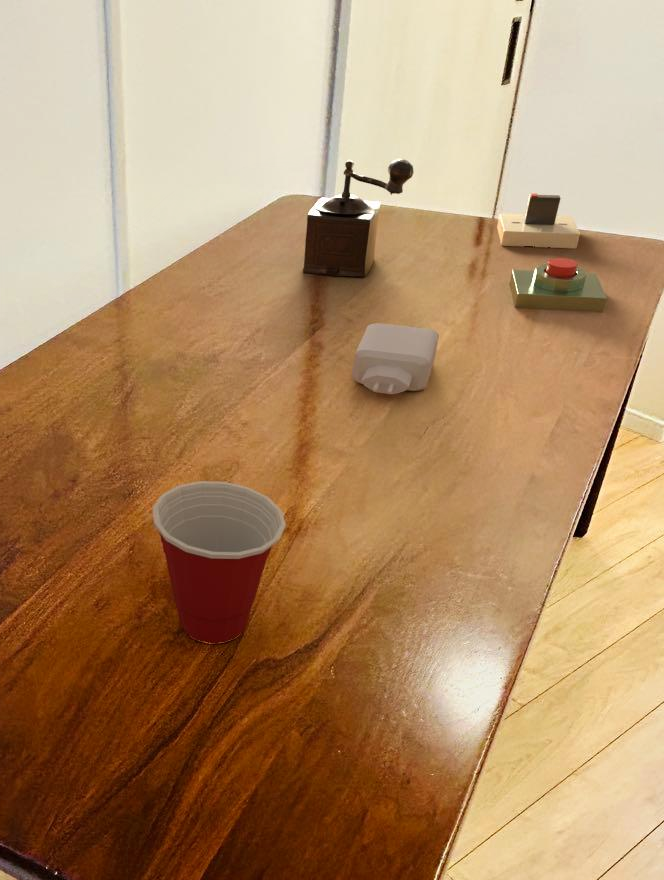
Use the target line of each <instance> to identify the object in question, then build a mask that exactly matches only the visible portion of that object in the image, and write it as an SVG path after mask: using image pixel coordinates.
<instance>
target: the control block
mask: <svg viewBox="0 0 664 880" xmlns="http://www.w3.org/2000/svg"><path fill="white" fill-rule="evenodd" d="M547 265H548V263H546V264H541V265H539V266H537V267H535V269H534V270H524V269H512V270H511V274H510V279H509V282H508V283H509V288H510V292H511V297H512V301H513V307H514V309H530V310H531V309H533V310H546V311H547V310H549V311H564V312H565V311H566V312H568V311H569V312H583V313H601V314H602V313H604V309H605V306H606V303H607V299H608V297H607V295H606V293H605V291H604V289H603V286H602V284H601V281H600V280H599V279H600V278H599V276H598V274H597V273H591V272H589V273H588V272H586V270H585V269H583V268H581V267H578V266H577V269H576V273H575V276H573V277H556V276H552V275H549V274H547V273H546V269H547Z"/></svg>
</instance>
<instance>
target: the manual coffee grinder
mask: <svg viewBox="0 0 664 880" xmlns="http://www.w3.org/2000/svg"><path fill="white" fill-rule="evenodd" d="M354 165H355V163H354V161H353V160H352V159H348V160H347V161H346V162H345V164H344V166H345V169H344V171H343V175H344V185H343V191H342V192H341V194H338V195H335V196H333V197H331V198H330V197H329V198H328V197H321V198H319V199H318V200H317V201H316V203H315V204H314V206H313V207H311V209H310V210H309V212H308V214H307V217H306V232H305V243H304V244H305V245H304V259H303V260H304V261H303V268H302V273H306V274H316V275H323V276H333V277H334V276H335V277H339V276H341V277H360V278H361V277H366V276H367V275H368V274H369V272H370V270H371V268H372V267H373V264H374V261H375V250H376V240H377V232H378V225H379V218H380V210H381V204H382V203H381V202H379V201H370V200H364V199H362V198H360V197H358V196H357V195H354V194H351V192H350V190H351V181H352V179H353V180H355V181H358V182H361V183H366V184H368V185H372V186H375V187H379V188H382V189H384V190H386V191H387V192H388V193H389V194H390V195H391V196H392V195H393V194H394V195H395V194H396V195H399V194H400V195H401V194H402V193H403V190H404V189H403V187H404V184H405V183H407V182H408V181H409V180H410V179H411V178H412V177H413V175H414V172H415V171H414V166H413V164H411V162H409V161H408V160H407V159H404V158H398V159H395V160H393V161H392V162H390V164H389V165H388V167H387V172H388V177H389V178H388V179H389V181H388V182H384V181H382V180H381V179H380V180H379V179H377V178H372V177H369V176H364V175H360V174H357V173H355V172H354V170H353V168H354Z"/></svg>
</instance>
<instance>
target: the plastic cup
mask: <svg viewBox="0 0 664 880" xmlns="http://www.w3.org/2000/svg"><path fill="white" fill-rule="evenodd" d="M152 515H153V516H152V517H153V525H154V527H155V529H156V530H157V531H158V534H159V536H160V541H161V543H162V551H163V553H164V557H165V561H166V566H167V570H168V576H169V582H170V585H171V591H172V596H173V601H174V602H175V604H176V610H177V615H178V621H179V624H180V625H181V628H182V627H183V628H184V630H185V631H186V633H187V634H188V635H190V636H192V637H193V638H195V639H197V640H200V641H205V642H208V643H209V642H210V643H219V642H225V641H228V640H231V639H234V638H235V637H237V636H238V635H239V634H240V633H242V632H244V630H245V629H246V627H247V625H248V622H249V619H250V614H251V611H252V608H253V604H254V601H255V599H256V597H257V593H258V591H259V590H258V589H259V587H260V584H261V580H262V576H263V573H264V570H265V566H266V562H267V559H268V557H269V555H270V552H271V550H272V549H273V547H274V546H275V545H277V544H278V543H279V541H280V539H281V537H282V536H283V535H282V534H283V532H284V530H285V528H286V526H287V523H286V520H285V517H284V516H285V515H284V514H283V510H282V509H281V508H280V507H279V506H278V505H277V504H276V503H275V502H274V501H273V500H272V499H271V498H270V497H269V496H267V495H265V494H263V493H261V492H259V491H257V490H254V489H253V488H251V487H248V486H245V485H241V484H236V483H232V482H227V481H209V480H208V481H207V480H200V481H199V480H198V481H195V482H190V483H189V482H188V483H185V484H180V485H177V486H175V487H173V488H171V489H169V490H168V491H165V492H164V493H162V494H161V495H160V496H159V498H158V499H157V500H156V502H155V504H154V505H153V506H152ZM184 630H183V631H184ZM185 631H184V632H185ZM186 633H185V634H186ZM187 634H186V635H187ZM242 634H243V633H242ZM188 635H187V636H188Z"/></svg>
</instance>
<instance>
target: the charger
mask: <svg viewBox="0 0 664 880" xmlns="http://www.w3.org/2000/svg"><path fill="white" fill-rule="evenodd" d="M439 338H440V335H439V333H438V332H437V331H435V329H431V328H426V327H417V326H410V325H409V326H408V325H398V324H390V323H383V322H382V323H381V322H376V323H371V324H369V325H367V327H366V329H365V331H364V333H363V336H362V337H361V340H360V342H359V344H358V347H357V348H356V351H355V353H354V355H353V364H352V365H353V366H352V373H351V378H352V380H353V381H354V382H356V383H359V384H361V385H363V386H364V387H365V388H367V389H369V390H370V391H372V392H374V393H380V394H387V395H396V394H400V393H404V392H405V391H411V392H419V391H422V390H423V391H424V390H425V389H426V388H427V385H428V382H429V379H430V375H431V373H432V369H433V365H434V363H435V359H436V354H437V349H438V344H439Z"/></svg>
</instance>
